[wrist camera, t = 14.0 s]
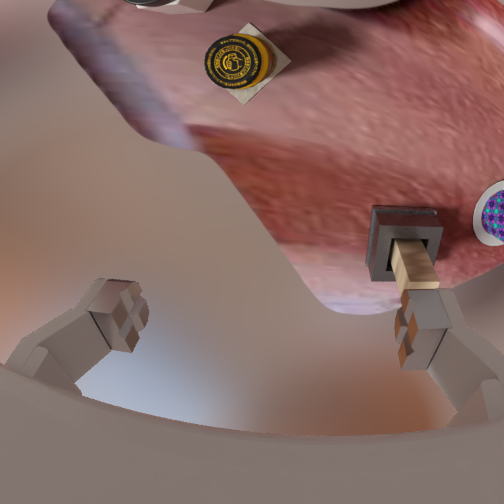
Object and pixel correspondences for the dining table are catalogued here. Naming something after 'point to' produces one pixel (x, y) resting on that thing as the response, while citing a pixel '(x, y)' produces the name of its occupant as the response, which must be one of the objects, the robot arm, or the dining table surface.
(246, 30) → the condiment
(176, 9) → the jar
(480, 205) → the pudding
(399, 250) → the wooden peg
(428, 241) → the socket holder
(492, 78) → the dining table surface
